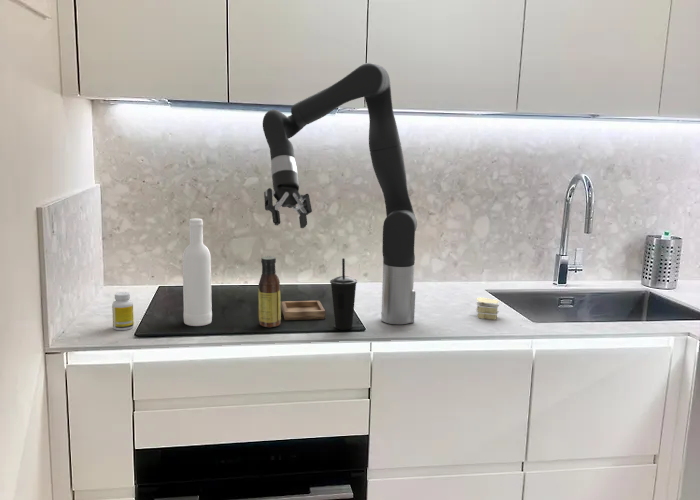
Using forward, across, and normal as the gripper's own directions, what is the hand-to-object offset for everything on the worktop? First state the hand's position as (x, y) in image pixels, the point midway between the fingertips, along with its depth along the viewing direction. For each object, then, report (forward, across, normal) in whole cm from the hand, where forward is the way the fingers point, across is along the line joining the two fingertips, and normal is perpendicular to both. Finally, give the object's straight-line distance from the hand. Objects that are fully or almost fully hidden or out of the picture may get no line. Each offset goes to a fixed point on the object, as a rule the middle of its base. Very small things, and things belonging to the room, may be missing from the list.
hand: (290, 225), depth 179 cm
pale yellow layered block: (+30, +59, -13) cm, 67 cm away
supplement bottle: (+22, -38, +32) cm, 54 cm away
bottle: (+22, -19, +26) cm, 39 cm away
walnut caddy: (+21, +11, +17) cm, 30 cm away
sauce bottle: (+26, -2, +14) cm, 29 cm away
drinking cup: (+30, +15, +1) cm, 33 cm away
